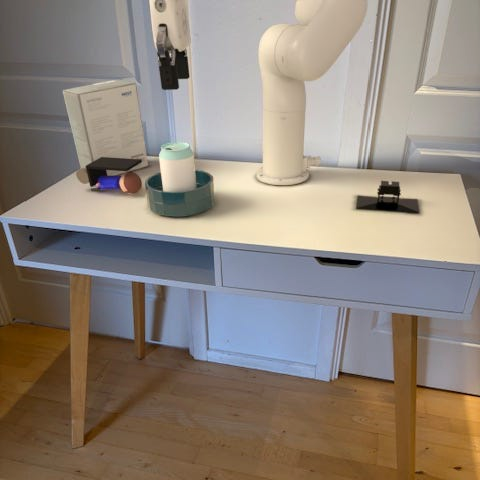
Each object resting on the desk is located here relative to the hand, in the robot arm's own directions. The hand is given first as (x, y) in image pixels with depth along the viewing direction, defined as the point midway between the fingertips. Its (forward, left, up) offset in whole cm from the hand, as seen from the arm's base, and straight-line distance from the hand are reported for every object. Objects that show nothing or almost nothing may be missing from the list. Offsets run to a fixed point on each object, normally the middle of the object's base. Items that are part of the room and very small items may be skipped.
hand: (176, 83), depth 95 cm
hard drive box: (+11, -26, -24) cm, 37 cm away
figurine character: (+14, -12, -23) cm, 30 cm away
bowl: (+2, +3, -23) cm, 24 cm away
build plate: (-37, +22, -23) cm, 49 cm away
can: (+2, +3, -23) cm, 23 cm away
